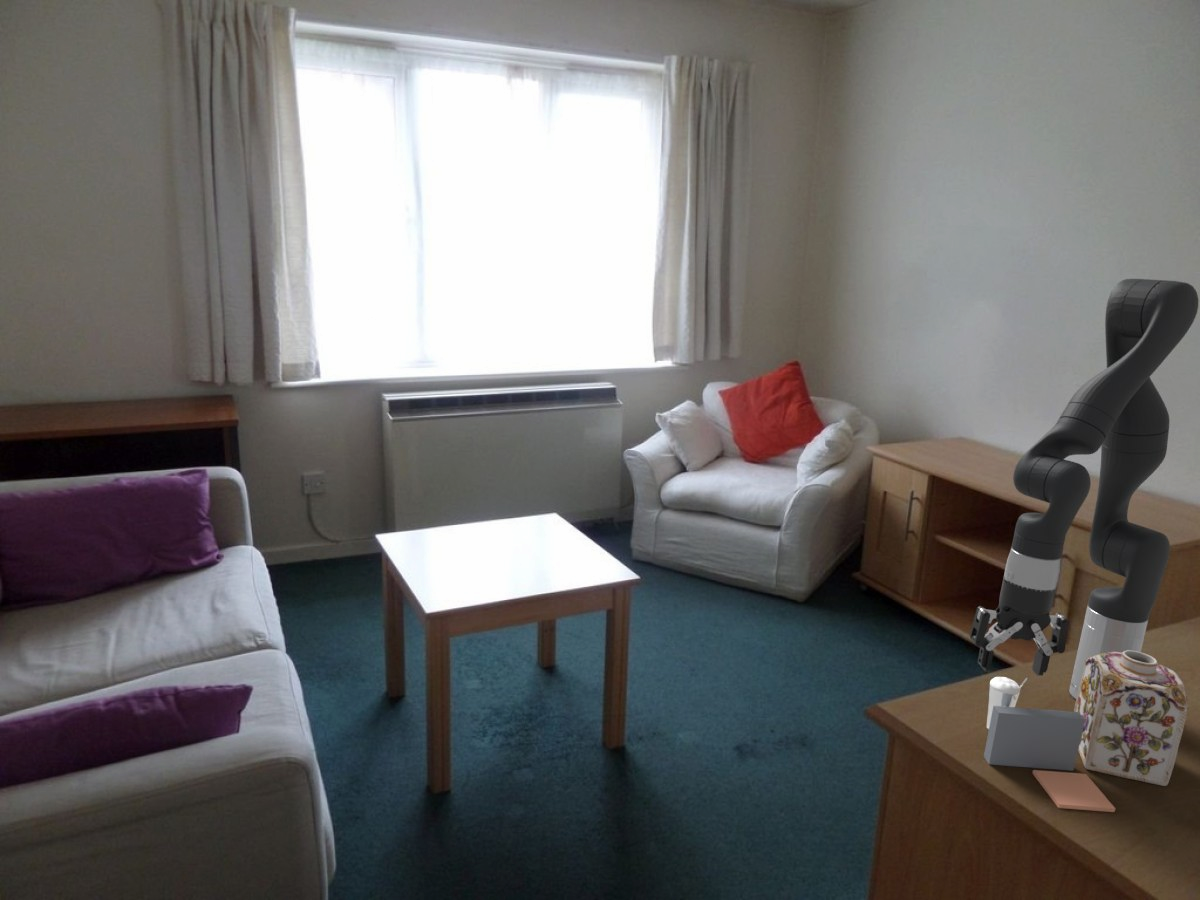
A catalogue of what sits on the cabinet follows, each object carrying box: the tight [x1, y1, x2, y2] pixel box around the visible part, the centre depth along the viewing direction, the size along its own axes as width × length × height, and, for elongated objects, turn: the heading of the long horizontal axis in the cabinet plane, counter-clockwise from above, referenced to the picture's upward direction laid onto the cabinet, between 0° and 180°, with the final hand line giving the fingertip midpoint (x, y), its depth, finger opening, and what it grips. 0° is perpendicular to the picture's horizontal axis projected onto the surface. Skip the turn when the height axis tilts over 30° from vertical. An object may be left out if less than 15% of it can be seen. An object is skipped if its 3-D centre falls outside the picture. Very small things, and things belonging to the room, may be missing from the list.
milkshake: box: [986, 676, 1028, 730], centre depth 136 cm, size 5×5×10 cm
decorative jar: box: [1073, 650, 1189, 787], centre depth 129 cm, size 12×12×18 cm
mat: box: [1032, 769, 1116, 813], centre depth 122 cm, size 8×8×1 cm
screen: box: [983, 706, 1085, 772], centre depth 128 cm, size 13×2×9 cm, turn 88°
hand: (1010, 671), depth 135 cm, fingers open, 8 cm apart
